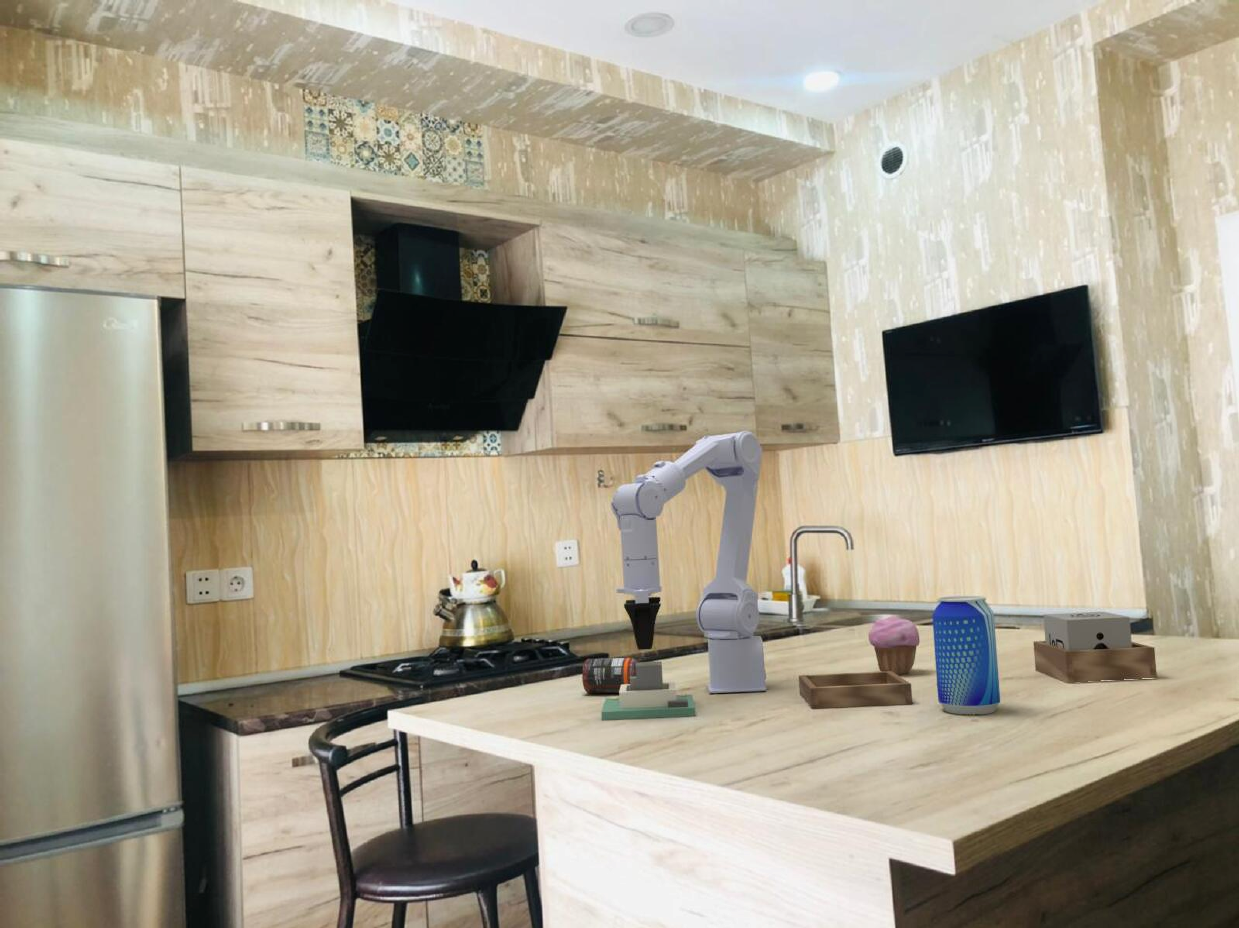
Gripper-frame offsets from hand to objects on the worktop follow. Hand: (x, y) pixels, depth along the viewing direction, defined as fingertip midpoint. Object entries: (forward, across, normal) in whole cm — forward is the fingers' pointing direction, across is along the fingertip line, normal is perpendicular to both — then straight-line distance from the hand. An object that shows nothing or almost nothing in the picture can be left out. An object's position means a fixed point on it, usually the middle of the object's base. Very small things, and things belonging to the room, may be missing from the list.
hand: (645, 646), depth 159 cm
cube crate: (+10, -13, +74) cm, 76 cm away
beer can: (+10, +12, +46) cm, 49 cm away
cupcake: (+10, -24, +44) cm, 51 cm away
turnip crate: (+10, -1, +32) cm, 34 cm away
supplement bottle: (+7, -19, -11) cm, 23 cm away
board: (+10, +1, 0) cm, 10 cm away
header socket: (+9, +1, 0) cm, 9 cm away
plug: (+9, +1, 0) cm, 9 cm away
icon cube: (+10, -12, +73) cm, 75 cm away
